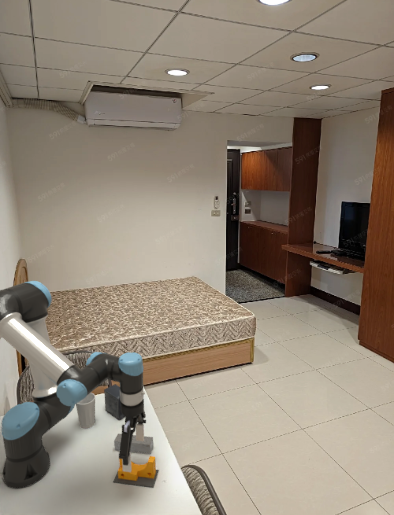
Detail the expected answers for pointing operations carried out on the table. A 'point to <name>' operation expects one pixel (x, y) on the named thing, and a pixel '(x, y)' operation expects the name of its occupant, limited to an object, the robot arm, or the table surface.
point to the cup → (86, 411)
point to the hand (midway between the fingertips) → (134, 454)
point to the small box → (113, 401)
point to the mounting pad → (140, 481)
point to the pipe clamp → (138, 470)
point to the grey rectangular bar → (136, 444)
